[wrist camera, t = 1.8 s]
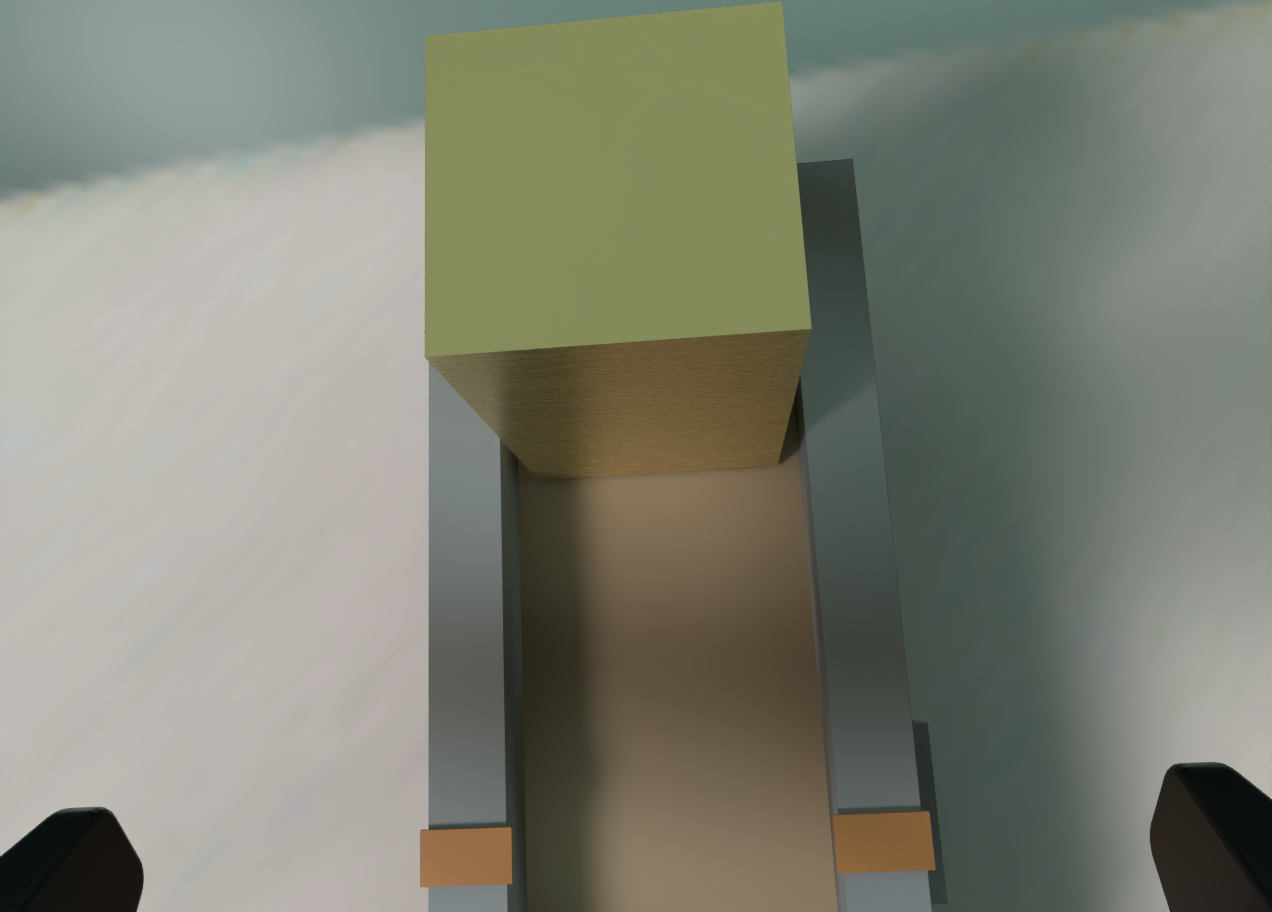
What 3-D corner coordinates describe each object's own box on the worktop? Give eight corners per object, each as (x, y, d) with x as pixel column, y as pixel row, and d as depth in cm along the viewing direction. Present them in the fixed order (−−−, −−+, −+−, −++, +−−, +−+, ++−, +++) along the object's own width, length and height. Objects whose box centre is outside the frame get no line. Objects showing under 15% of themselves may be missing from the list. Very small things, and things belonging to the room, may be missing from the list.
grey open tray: (946, 1183, 19) (1072, 1466, 12) (477, 1187, 19) (344, 1459, 13) (854, 289, 23) (910, 122, 16) (468, 318, 23) (365, 170, 17)
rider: (777, 466, 17) (811, 328, 11) (539, 481, 18) (424, 357, 11) (760, 254, 18) (781, 1, 11) (534, 272, 19) (425, 36, 12)
